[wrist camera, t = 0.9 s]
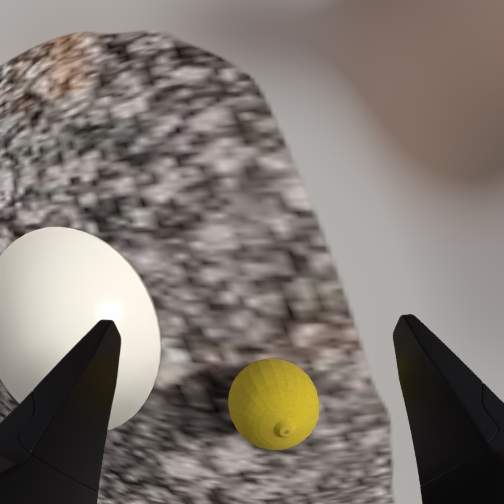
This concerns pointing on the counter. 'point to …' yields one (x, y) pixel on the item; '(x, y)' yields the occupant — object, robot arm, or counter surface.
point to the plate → (74, 313)
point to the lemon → (273, 404)
